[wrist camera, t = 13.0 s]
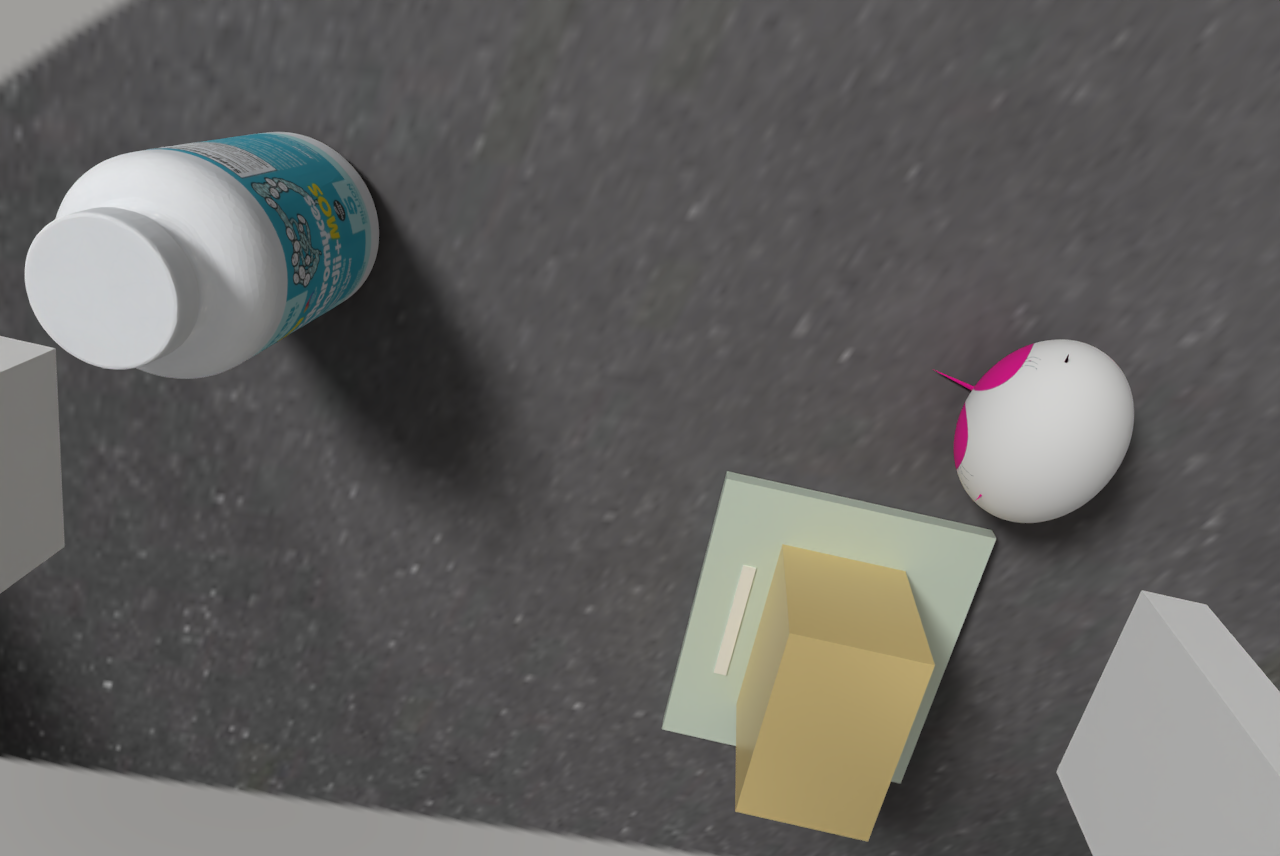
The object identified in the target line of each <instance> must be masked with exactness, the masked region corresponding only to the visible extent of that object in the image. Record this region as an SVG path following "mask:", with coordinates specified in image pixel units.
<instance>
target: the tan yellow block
mask: <svg viewBox="0 0 1280 856" xmlns="http://www.w3.org/2000/svg"><path fill="white" fill-rule="evenodd" d="M934 667H935V664H934V661H933V657H932V654H931V651H930V648H929V645H928V641H927V638H926V635H925V632H924V629H923V625H922V622H921V619H920V616H919V613H918V609H917V606H916V603H915V600H914V597H913V594H912V590H911V587H910V584H909V581H908V578H907V574H906V571H902V570H898V569H893V568H889V567H884V566H880V565H875V564H870V563H866V562H861V561H857V560H852V559H848V558H843V557H839V556H834V555H830V554H825V553H821V552H816V551H812V550H807V549H802V548H798V547H793V546H789V545H784V544H782V547H781V551H780V554H779V558H778V561H777V565H776V568H775V572H774V575H773V579H772V582H771V586H770V589H769V592H768V596H767V599H766V603H765V606H764V610H763V613H762V617H761V620H760V624H759V627H758V631H757V634H756V638H755V641H754V645H753V648H752V652H751V655H750V659H749V662H748V665H747V669H746V672H745V676H744V679H743V683H742V686H741V690H740V693H739V697H738V700H737V704H736V798H735V812H740V813H744V814H749V815H753V816H757V817H762V818H766V819H771V820H775V821H779V822H784V823H788V824H793V825H797V826H801V827H806V828H810V829H815V830H819V831H823V832H828V833H832V834H837V835H841V836H846V837H850V838H854V839H859V840H863V841H868V840H869V837H870V835H871V832H872V830H873V827H874V824H875V822H876V819H877V816H878V814H879V811H880V809H881V806H882V803H883V801H884V798H885V795H886V793H887V790H888V788H889V785H890V782H891V780H892V777H893V774H894V772H895V769H896V767H897V764H898V761H899V759H900V756H901V753H902V751H903V748H904V746H905V743H906V740H907V738H908V735H909V732H910V730H911V727H912V725H913V722H914V719H915V717H916V714H917V711H918V709H919V706H920V704H921V701H922V698H923V696H924V693H925V690H926V688H927V685H928V683H929V680H930V677H931V675H932V672H933V669H934Z"/></svg>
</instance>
